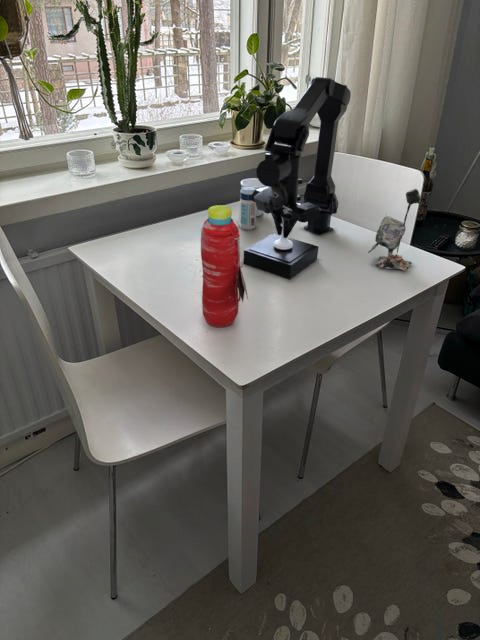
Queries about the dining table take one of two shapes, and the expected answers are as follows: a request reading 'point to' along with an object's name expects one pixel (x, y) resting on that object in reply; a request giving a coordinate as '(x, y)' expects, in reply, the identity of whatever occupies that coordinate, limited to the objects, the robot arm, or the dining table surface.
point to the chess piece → (283, 239)
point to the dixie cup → (254, 183)
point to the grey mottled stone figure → (394, 236)
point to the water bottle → (221, 267)
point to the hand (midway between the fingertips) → (282, 236)
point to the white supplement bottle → (247, 208)
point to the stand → (280, 256)
